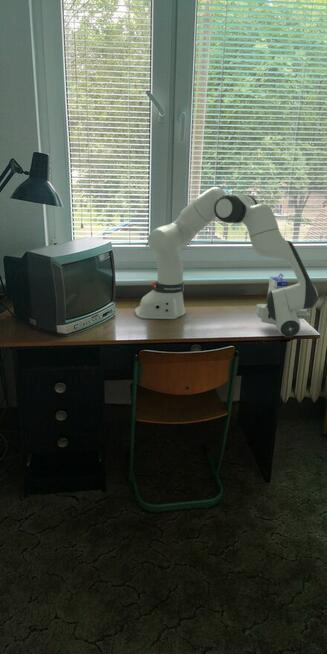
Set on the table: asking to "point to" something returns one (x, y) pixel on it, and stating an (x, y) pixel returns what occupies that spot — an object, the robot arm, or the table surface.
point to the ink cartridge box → (276, 283)
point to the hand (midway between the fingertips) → (279, 305)
